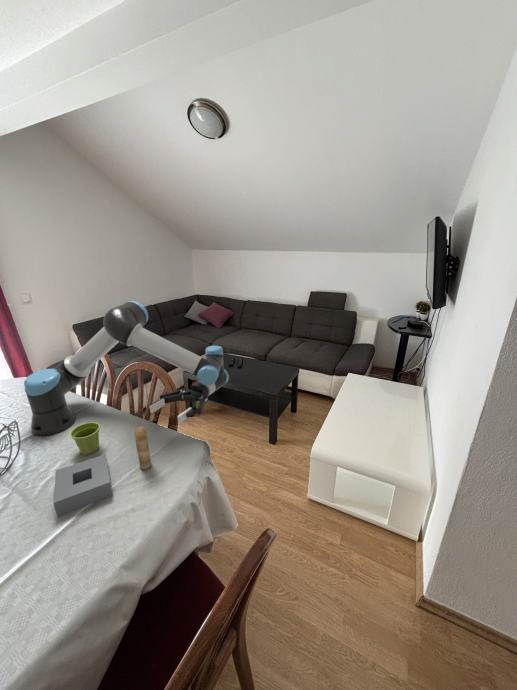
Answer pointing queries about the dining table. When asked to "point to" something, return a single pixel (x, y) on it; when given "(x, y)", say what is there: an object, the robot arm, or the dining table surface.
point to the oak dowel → (142, 448)
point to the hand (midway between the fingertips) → (164, 414)
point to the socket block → (81, 484)
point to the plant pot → (86, 437)
